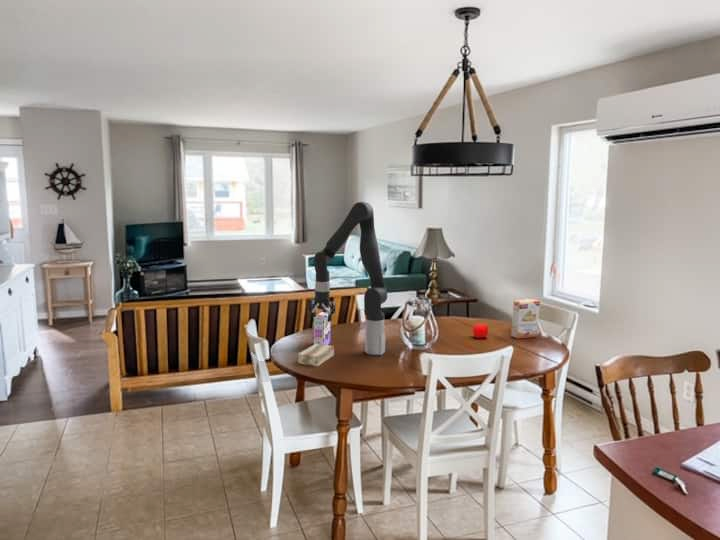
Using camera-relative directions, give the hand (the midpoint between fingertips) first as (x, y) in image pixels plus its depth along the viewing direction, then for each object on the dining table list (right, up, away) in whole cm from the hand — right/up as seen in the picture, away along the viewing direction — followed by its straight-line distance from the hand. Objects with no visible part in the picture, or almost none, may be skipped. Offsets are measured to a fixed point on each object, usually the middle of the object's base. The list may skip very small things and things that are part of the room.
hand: (321, 320), depth 267 cm
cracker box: (+113, -12, +25) cm, 116 cm away
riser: (-1, -17, -20) cm, 26 cm away
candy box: (0, -14, +2) cm, 14 cm away
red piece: (+87, -12, +22) cm, 90 cm away
